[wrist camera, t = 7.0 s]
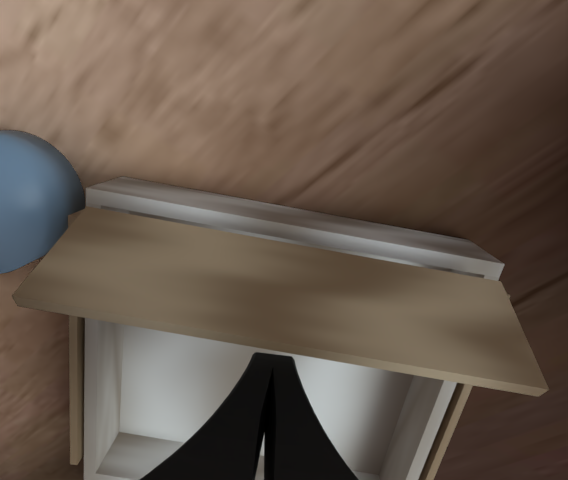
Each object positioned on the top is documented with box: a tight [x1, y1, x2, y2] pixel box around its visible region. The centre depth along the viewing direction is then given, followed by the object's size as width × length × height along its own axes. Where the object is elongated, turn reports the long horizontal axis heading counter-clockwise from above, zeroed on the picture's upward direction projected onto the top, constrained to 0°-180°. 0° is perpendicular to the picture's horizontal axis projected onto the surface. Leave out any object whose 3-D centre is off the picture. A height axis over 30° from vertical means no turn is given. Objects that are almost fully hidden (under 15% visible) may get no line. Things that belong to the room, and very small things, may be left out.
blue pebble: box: [0, 130, 85, 274], centre depth 13 cm, size 5×5×2 cm
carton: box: [68, 176, 511, 480], centre depth 15 cm, size 15×13×3 cm
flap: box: [12, 206, 549, 397], centre depth 10 cm, size 13×1×3 cm, turn 80°
